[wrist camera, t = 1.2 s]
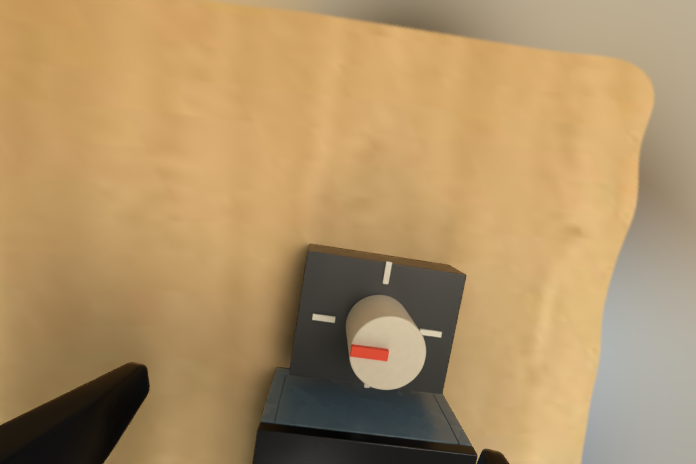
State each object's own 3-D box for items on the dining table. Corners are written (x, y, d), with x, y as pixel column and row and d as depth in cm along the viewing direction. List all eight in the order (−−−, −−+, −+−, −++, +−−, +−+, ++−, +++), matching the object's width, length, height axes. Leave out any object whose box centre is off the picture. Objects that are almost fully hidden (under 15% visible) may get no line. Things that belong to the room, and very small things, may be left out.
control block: (450, 263, 24) (468, 273, 21) (428, 371, 25) (443, 397, 22) (310, 242, 23) (307, 249, 20) (293, 354, 24) (288, 378, 21)
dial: (414, 299, 21) (435, 324, 17) (402, 359, 21) (420, 398, 17) (351, 289, 21) (356, 313, 17) (340, 351, 21) (343, 389, 17)
